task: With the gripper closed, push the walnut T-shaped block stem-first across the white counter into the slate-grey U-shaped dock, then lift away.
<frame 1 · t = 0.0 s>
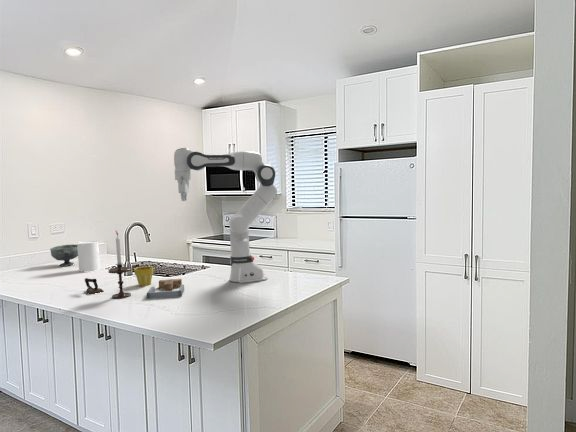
hand: (184, 200, 237), 48 cm above the counter, fingers open, 8 cm apart
dock: (166, 294, 217), on the counter
bowl: (66, 265, 316), on the counter
clothes iron: (92, 292, 227), on the counter
t block: (170, 287, 230), on the counter
canister: (89, 270, 293), on the counter
candlestick: (121, 296, 215), on the counter
plant pot: (144, 285, 241), on the counter
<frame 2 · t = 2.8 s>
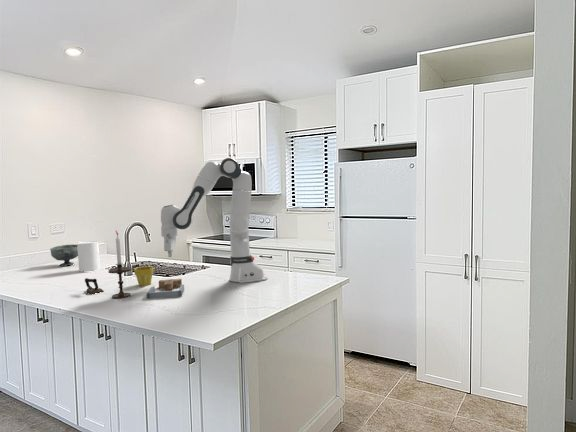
hand: (170, 256, 239), 16 cm above the counter, fingers closed
nothing on the counter moved.
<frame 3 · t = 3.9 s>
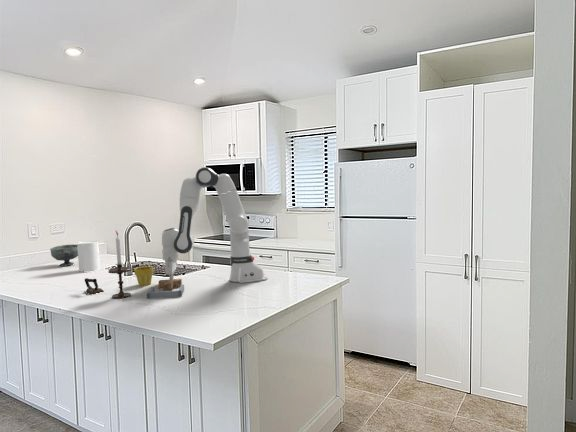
hand: (171, 279, 240), 2 cm above the counter, fingers closed
nothing on the counter moved.
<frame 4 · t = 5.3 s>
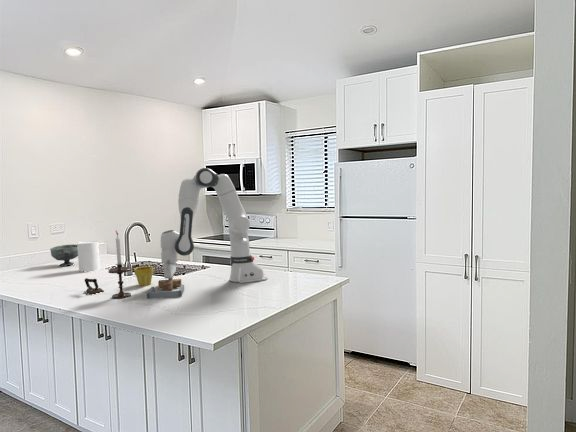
hand: (170, 282, 235), 2 cm above the counter, fingers closed
t block: (169, 288, 230), on the counter, touching gripper
everything else where it was.
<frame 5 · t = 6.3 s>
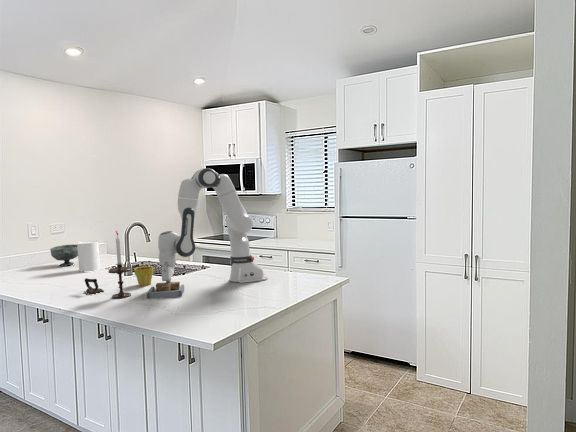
hand: (168, 285, 228), 2 cm above the counter, fingers closed
t block: (167, 291, 223), on the counter, touching gripper
everything else where it was.
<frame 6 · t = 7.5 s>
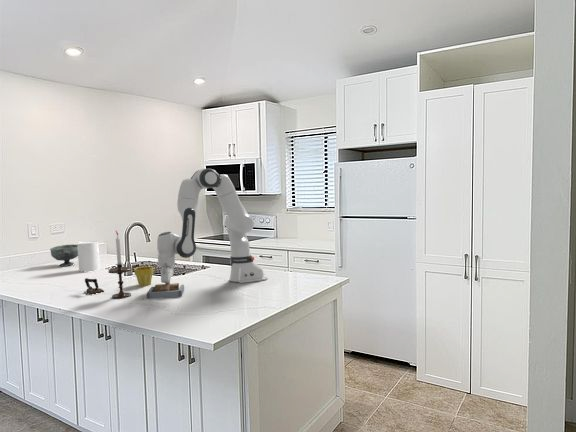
hand: (167, 287, 225), 2 cm above the counter, fingers closed
t block: (166, 293, 219), on the counter, touching gripper
everything else where it was.
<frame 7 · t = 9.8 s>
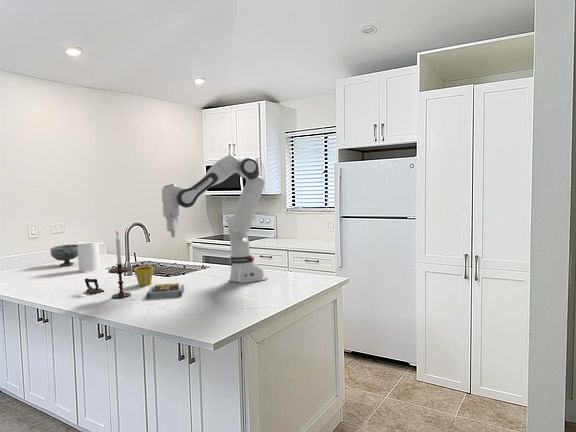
hand: (173, 237, 235), 28 cm above the counter, fingers closed
t block: (166, 293, 219), on the counter
everything else where it was.
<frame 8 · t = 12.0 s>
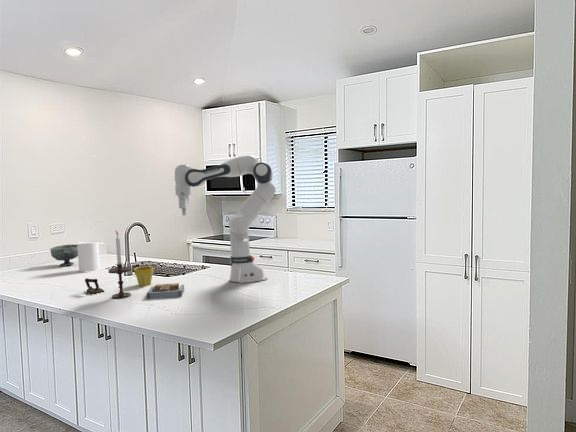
hand: (184, 215, 248), 39 cm above the counter, fingers closed
nothing on the counter moved.
at the end: t block 0.4 cm from the target spot on the dock, point 0.0 cm above the dock's base; t block tilted 0° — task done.
